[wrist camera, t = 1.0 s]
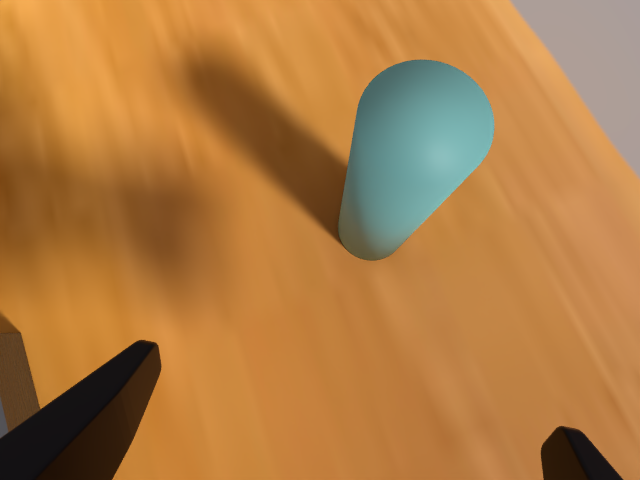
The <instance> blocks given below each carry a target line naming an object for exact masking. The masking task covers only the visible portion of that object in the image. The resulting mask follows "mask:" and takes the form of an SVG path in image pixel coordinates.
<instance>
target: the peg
mask: <svg viewBox="0 0 640 480" xmlns="http://www.w3.org/2000/svg"><path fill="white" fill-rule="evenodd" d="M493 135H494V117H493V112H492V109H491V105H490V103H489V101H488V99H487V97H486V95H485V94H484V92H483V90H482V89H481V88H480V87H479V85H478V84H477V83H476V82H475V81H474V80H473V79H472V78H471V77H469V76H468V75H467V74H465V73H464V72H462V71H461V70H459V69H457V68H455V67H453V66H451V65H448V64H445V63H442V62H438V61H432V60H411V61H406V62H402V63H399V64H396V65H393V66H391V67H389V68H387V69H386V70H384V71H382V72H381V73H380V74H378V75H377V76H376V77H375V78H374V79H373V80H372V81H371V82H370V83H369V85H368V86H367V87H366V89H365V90H364V92H363V94H362V96H361V98H360V101H359V104H358V109H357V114H356V120H355V126H354V132H353V138H352V144H351V150H350V156H349V162H348V168H347V174H346V180H345V186H344V191H343V197H342V203H341V209H340V215H339V221H338V233H339V237H340V240H341V242H342V244H343V245H344V247H345V248H346V249H347V250H348V251H349V252H350V253H351V254H353V255H354V256H356V257H358V258H361V259H364V260H380V259H383V258H386V257H388V256H389V255H391V254H392V253H394V252H395V251H396V250H397V249H398V248H399V247H400V246H401V245H402V244H403V243H404V241H405V240H406V239H407V238H408V237H409V236H410V235H411V234H412V233H413V232H414V231H415V230H416V229H417V228H418V227H419V226H420V225H421V224H422V223H423V222H424V221H425V220H426V219H427V218H428V217H429V216H430V215H431V214H432V213H433V212H434V211H435V210H436V209H437V208H438V207H439V206H440V205H441V204H442V203H443V201H444V200H445V199H446V198H447V197H448V196H449V195H450V194H451V193H452V192H453V191H454V190H455V189H456V188H457V187H458V186H459V185H460V184H461V183H462V182H463V181H464V180H465V179H466V178H467V177H468V176H469V175H470V174H471V173H472V172H473V171H474V170H475V169H476V168H477V167H478V165H479V164H480V163H481V162H482V161H483V159H484V158H485V156H486V155H487V153H488V151H489V149H490V146H491V144H492V140H493Z"/></svg>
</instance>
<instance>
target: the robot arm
mask: <svg viewBox="0 0 640 480" xmlns="http://www.w3.org/2000/svg"><path fill="white" fill-rule="evenodd" d="M160 372H161V360H160V353H159V347H158V345H157V343H155V342H151V341H146V340H139V341H136V342H135V343H133V344H132V345H130V346H129V347H128V348H126V349H125V350H123V351H122V352H121V353H119V354H118V355H116V356H115V357H114V358H112V359H111V360H109V361H108V362H107V363H105V364H104V365H102V366H101V367H100V368H98V369H97V370H95V371H94V372H92V373H91V374H90V375H88V376H87V377H85V378H84V379H83V380H81V381H80V382H78V383H77V384H76V385H74V386H73V387H71V388H70V389H69V390H67V391H66V392H64V393H63V394H61V395H60V396H59V397H57V398H56V399H54V400H53V401H52V402H50V403H49V404H47V405H46V406H45V407H43V408H42V409H40V410H39V411H38V412H36V413H35V414H33V415H32V416H31V417H29V418H28V419H26V420H25V421H23V422H22V423H21V424H19V425H18V426H16V427H15V428H14V429H12V430H11V431H9V432H8V433H7V434H5V435H4V436H2V437H1V438H0V480H112V479H113V477H114V475H115V473H116V471H117V469H118V468H119V466H120V464H121V462H122V460H123V458H124V456H125V454H126V453H127V451H128V449H129V447H130V445H131V443H132V441H133V439H134V436H135V434H136V432H137V429H138V427H139V424H140V422H141V419H142V417H143V415H144V412H145V410H146V407H147V405H148V402H149V400H150V397H151V395H152V392H153V390H154V388H155V385H156V383H157V380H158V378H159V375H160ZM541 461H542V469H543V478H544V480H623V479H622V478H621V476H620V475H619V474H618V473H617V472H616V471H615V469H614V468H613V467H612V466H611V465H610V464H609V462H608V461H607V460H606V459H605V458H604V457H603V455H602V454H601V453H600V452H599V451H598V449H597V448H596V447H595V446H594V445H593V444H592V442H591V441H590V440H589V439H588V438H587V437H586V435H585V434H584V433H583V432H581V431H580V430H578V429H575V428H570V427H565V426H559V427H557V428H556V429H555V430H554V432H553V433H552V434H551V435H550V436H549V437H548V439H547V440H546V441H545V442H544V443H543V445H542V448H541Z"/></svg>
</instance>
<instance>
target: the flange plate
mask: <svg viewBox="0 0 640 480" xmlns="http://www.w3.org/2000/svg"><path fill="white" fill-rule="evenodd" d="M39 410H40V408H39V404H38V400H37V396H36V392H35V388H34V384H33V380H32V376H31V372H30V368H29V364H28V360H27V356H26V352H25V349H24V345H23V341H22V337H21V333H0V438H1V437H2V436H4V435H5V434H7V433H8V432H9V431H11V430H12V429H14V428H15V427H16V426H18V425H19V424H21V423H22V422H23V421H25V420H26V419H28V418H29V417H31V416H32V415H33V414H35V413H36V412H38V411H39Z"/></svg>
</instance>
